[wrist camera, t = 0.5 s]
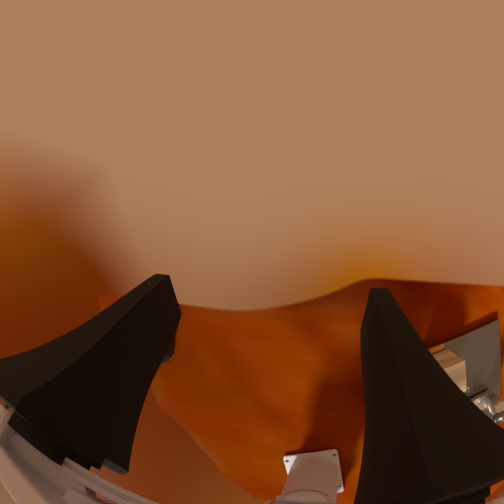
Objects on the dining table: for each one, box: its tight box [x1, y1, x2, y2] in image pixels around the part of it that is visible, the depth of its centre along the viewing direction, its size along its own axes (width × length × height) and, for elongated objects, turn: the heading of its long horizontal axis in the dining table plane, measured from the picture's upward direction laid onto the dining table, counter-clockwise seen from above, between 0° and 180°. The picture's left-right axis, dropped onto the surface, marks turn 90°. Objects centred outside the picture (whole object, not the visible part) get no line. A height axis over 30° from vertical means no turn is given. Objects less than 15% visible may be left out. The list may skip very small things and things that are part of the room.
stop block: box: [433, 349, 466, 392], centre depth 26 cm, size 4×4×6 cm
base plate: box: [427, 319, 501, 425], centre depth 28 cm, size 20×20×1 cm
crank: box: [470, 389, 504, 423], centre depth 23 cm, size 12×4×7 cm, turn 104°
